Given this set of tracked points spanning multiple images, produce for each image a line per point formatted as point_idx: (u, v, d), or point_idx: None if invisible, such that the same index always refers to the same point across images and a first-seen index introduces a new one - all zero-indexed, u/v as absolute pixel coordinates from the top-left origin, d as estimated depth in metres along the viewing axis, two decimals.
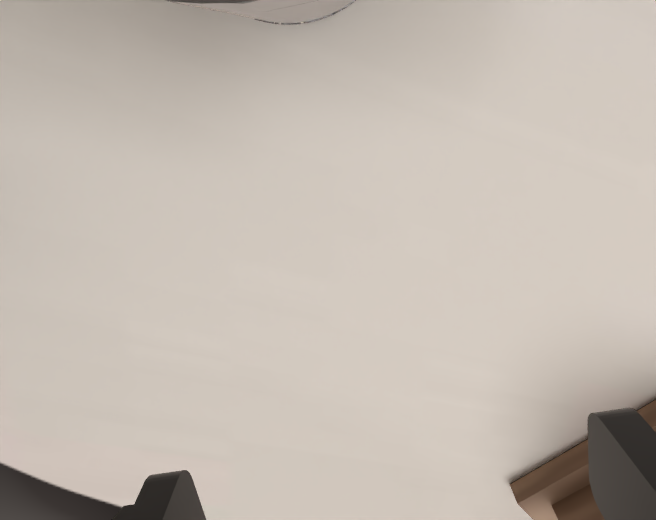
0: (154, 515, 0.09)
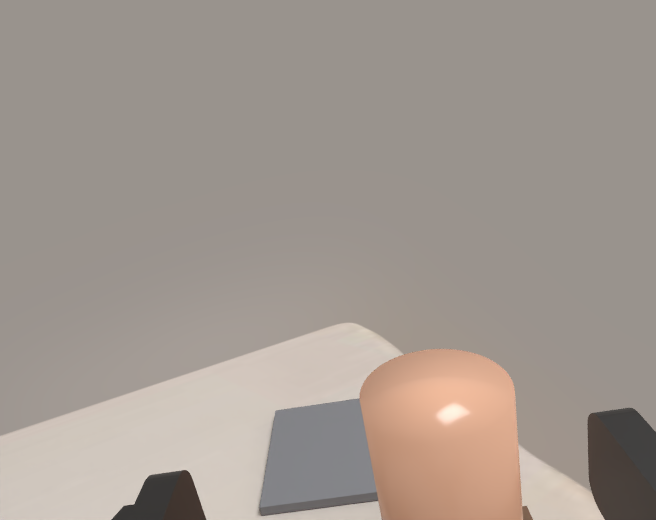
0: (154, 515, 0.09)
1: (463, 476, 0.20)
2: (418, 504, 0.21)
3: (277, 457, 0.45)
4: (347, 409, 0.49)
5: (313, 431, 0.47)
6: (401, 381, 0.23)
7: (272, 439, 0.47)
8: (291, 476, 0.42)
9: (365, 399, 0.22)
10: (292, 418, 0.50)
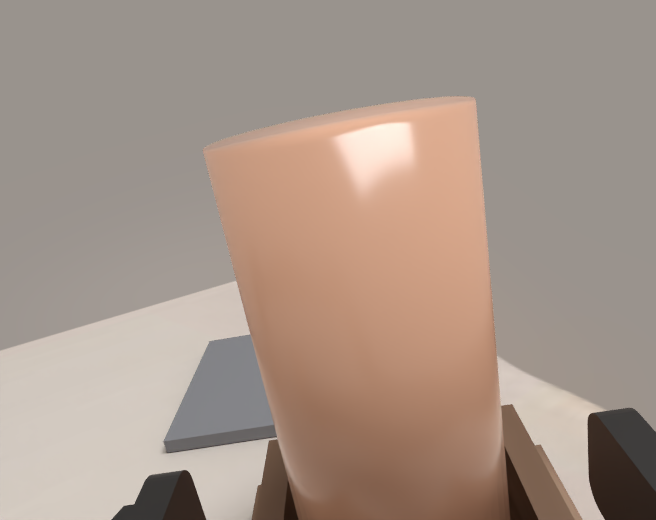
0: (154, 515, 0.09)
1: (369, 228, 0.10)
2: (294, 303, 0.11)
3: (200, 387, 0.35)
4: None
5: (250, 359, 0.37)
6: (286, 127, 0.13)
7: (198, 369, 0.37)
8: (212, 406, 0.33)
9: (216, 144, 0.13)
10: (227, 347, 0.40)
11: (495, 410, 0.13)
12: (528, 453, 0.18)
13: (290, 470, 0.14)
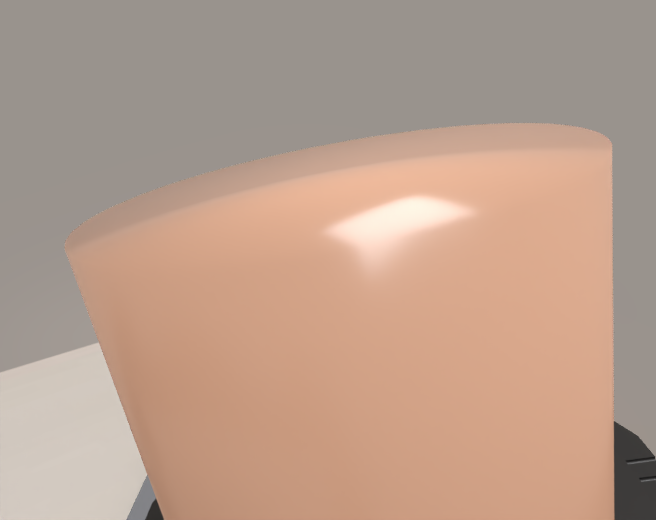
0: None
1: (399, 449, 0.04)
2: None
3: None
4: None
5: None
6: (244, 178, 0.08)
7: None
8: None
9: (110, 213, 0.07)
10: None
11: None
12: None
13: None
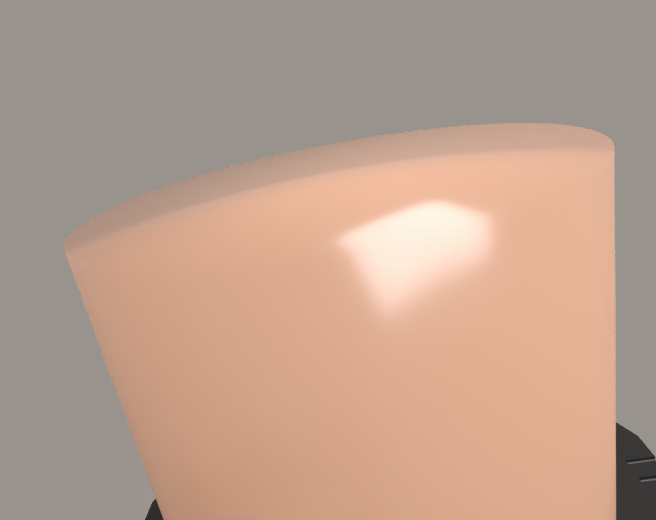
0: None
1: (402, 451, 0.04)
2: None
3: None
4: None
5: None
6: (244, 179, 0.08)
7: None
8: None
9: (110, 214, 0.07)
10: None
11: None
12: None
13: None
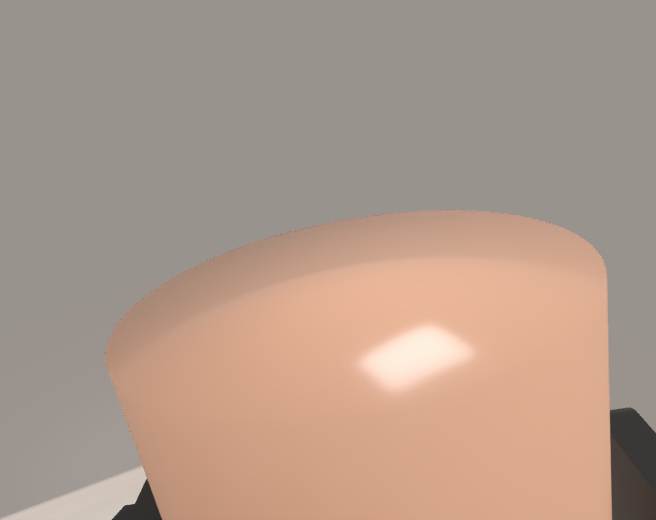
0: (155, 514, 0.09)
1: None
2: None
3: None
4: None
5: None
6: (263, 271, 0.08)
7: None
8: None
9: (141, 311, 0.07)
10: None
11: None
12: None
13: None
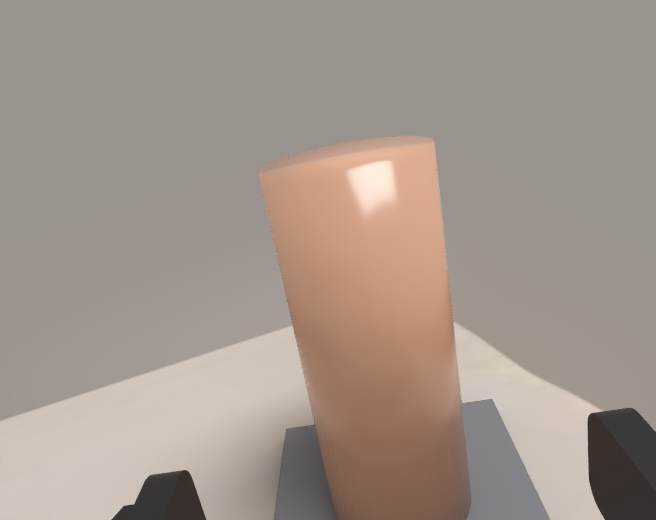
0: (154, 515, 0.09)
1: (364, 225, 0.17)
2: (317, 271, 0.18)
3: (292, 518, 0.24)
4: None
5: None
6: (311, 157, 0.20)
7: (282, 482, 0.27)
8: None
9: (265, 168, 0.19)
10: (315, 443, 0.29)
11: (449, 347, 0.20)
12: None
13: (311, 388, 0.21)
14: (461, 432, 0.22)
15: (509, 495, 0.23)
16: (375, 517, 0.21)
